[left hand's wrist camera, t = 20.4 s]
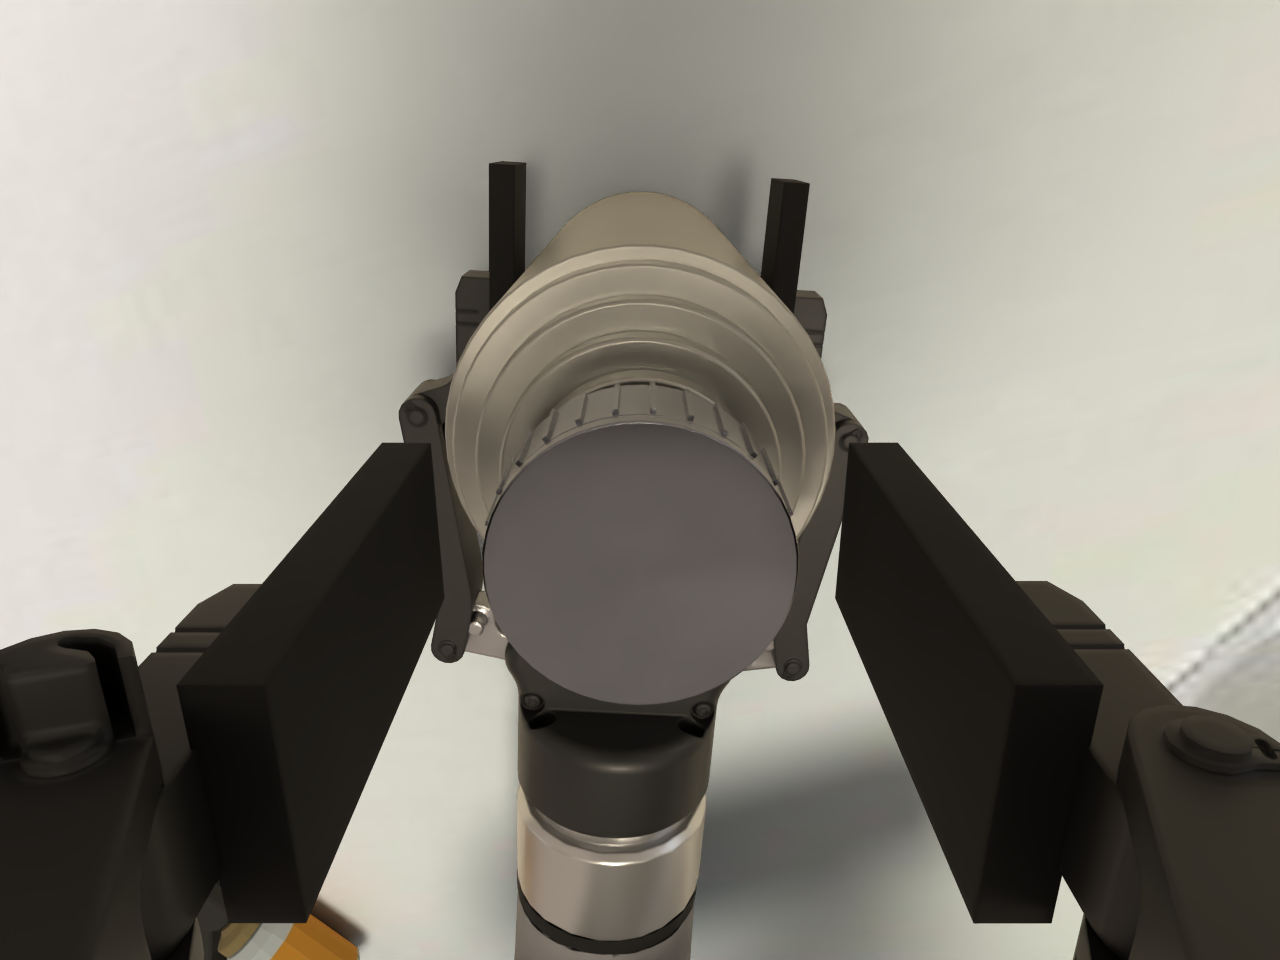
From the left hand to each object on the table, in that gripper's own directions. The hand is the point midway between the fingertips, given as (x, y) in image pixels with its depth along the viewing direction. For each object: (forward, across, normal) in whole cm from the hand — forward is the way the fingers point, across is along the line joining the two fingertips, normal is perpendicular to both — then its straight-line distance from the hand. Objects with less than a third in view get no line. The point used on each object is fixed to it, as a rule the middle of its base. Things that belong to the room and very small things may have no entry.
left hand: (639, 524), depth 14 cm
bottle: (+22, 0, 0) cm, 22 cm away
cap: (-1, 0, 0) cm, 1 cm away
